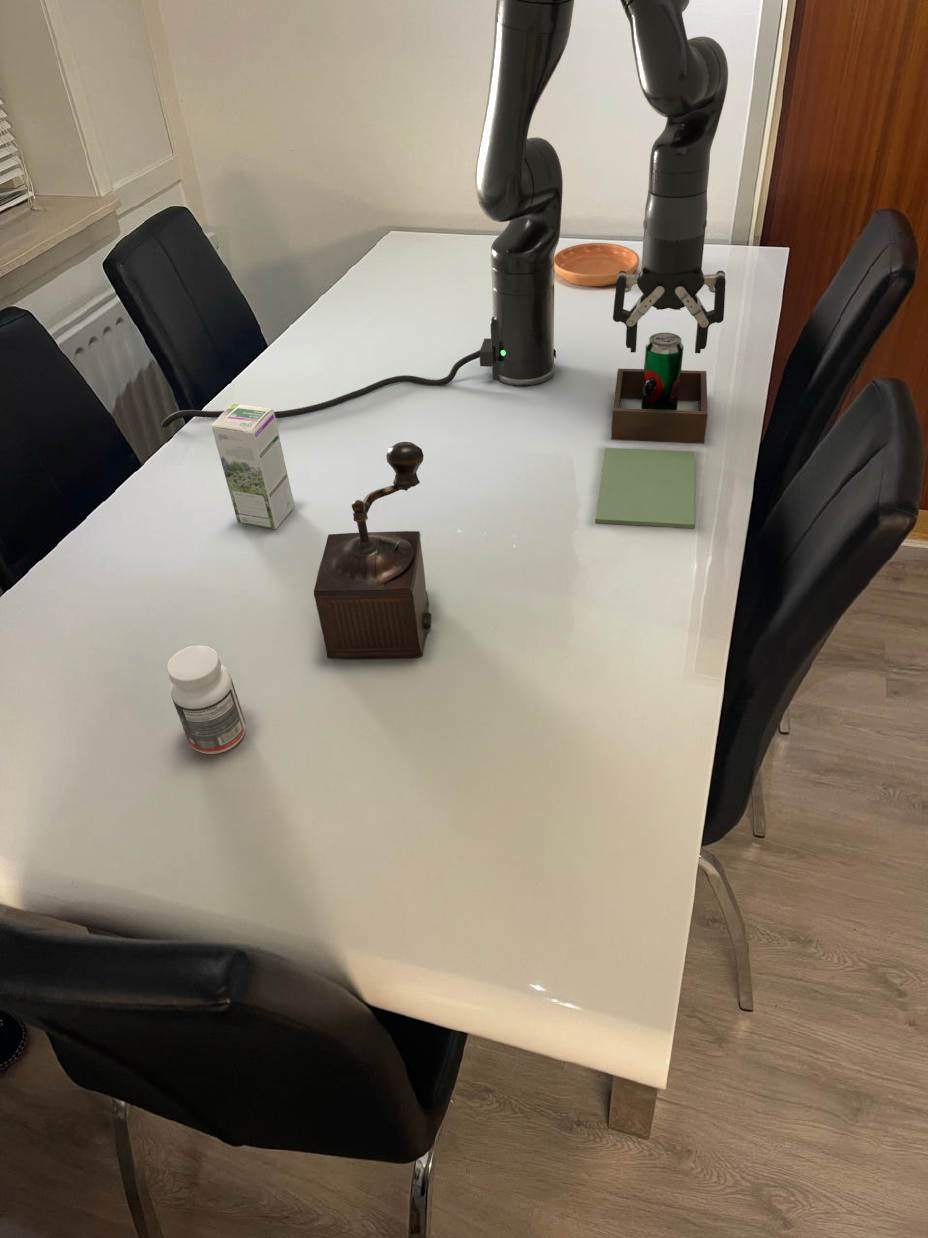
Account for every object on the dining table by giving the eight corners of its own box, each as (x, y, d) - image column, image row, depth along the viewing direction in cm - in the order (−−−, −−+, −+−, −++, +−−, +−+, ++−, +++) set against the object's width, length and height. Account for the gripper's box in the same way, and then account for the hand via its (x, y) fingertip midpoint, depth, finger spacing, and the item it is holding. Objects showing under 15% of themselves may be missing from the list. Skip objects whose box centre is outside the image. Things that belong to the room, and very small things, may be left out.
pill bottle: (192, 716, 94) (166, 643, 88) (249, 710, 95) (227, 637, 88) (185, 759, 90) (156, 686, 84) (244, 753, 90) (220, 680, 84)
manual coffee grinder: (428, 659, 99) (412, 518, 87) (325, 660, 99) (295, 521, 88) (437, 568, 110) (424, 433, 99) (345, 570, 111) (321, 436, 99)
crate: (611, 439, 130) (612, 410, 127) (616, 396, 140) (617, 368, 137) (703, 443, 128) (707, 413, 125) (703, 399, 137) (706, 370, 134)
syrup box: (296, 506, 122) (275, 405, 113) (275, 531, 118) (251, 429, 109) (258, 500, 124) (233, 400, 114) (235, 525, 120) (208, 424, 110)
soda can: (675, 428, 131) (683, 347, 124) (639, 426, 132) (645, 346, 125) (676, 410, 135) (684, 331, 127) (641, 409, 136) (647, 330, 128)
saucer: (643, 287, 169) (644, 271, 167) (555, 292, 170) (555, 276, 168) (632, 255, 181) (633, 240, 179) (550, 260, 182) (550, 244, 180)
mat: (594, 522, 116) (595, 518, 115) (604, 451, 128) (604, 447, 128) (694, 528, 113) (695, 524, 113) (694, 455, 126) (694, 451, 126)
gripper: (732, 216, 118) (718, 339, 128) (618, 217, 120) (613, 338, 131) (734, 237, 112) (719, 363, 123) (614, 237, 115) (610, 361, 125)
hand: (665, 350), depth 127 cm, fingers open, 8 cm apart
